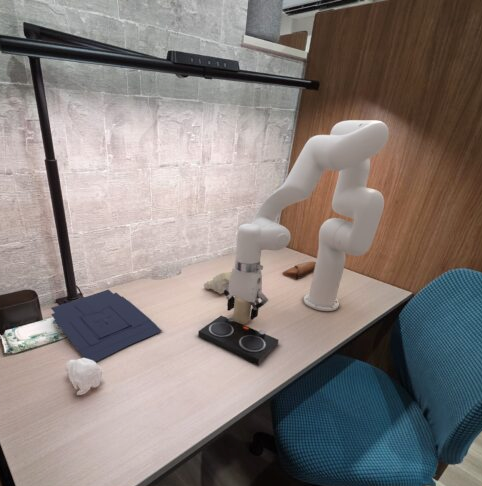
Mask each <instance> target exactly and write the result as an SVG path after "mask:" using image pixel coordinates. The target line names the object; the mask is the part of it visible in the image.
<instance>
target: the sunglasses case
mask: <svg viewBox="0 0 482 486" xmlns="http://www.w3.org/2000/svg"><path fill="white" fill-rule="evenodd" d="M315 264H316V261H307V262H303V263H298V264H295V265H294V266H293V267H290V268H288V269H287V270H284V271H283V272H282V275H284V276H286V277H288V278H290V279H291V280H295V281H296V280H298V279H300V278H302V277H303V276H305V275H307V274H309V273H312V272H314V269H315Z"/></svg>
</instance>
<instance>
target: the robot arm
mask: <svg viewBox="0 0 482 486" xmlns="http://www.w3.org/2000/svg"><path fill="white" fill-rule="evenodd" d="M389 136H390V131H389V127H388V125H387V124H386V123H385V122H383V121H381V120H374V119H373V120H370V119H367V120H365V119H364V120H362V119H361V120H359V119H352V120H351V119H350V120H342V121H339V122H337V123H335V125H334V126H332V128H331V130H330V134H317V135H314V136H311V137H310V138H309V139H308V140H307V141H306V143H305V144H304V145H303V147H302V150H301V151H300V153H299V155H298V157H297V158H296V160H295V162H294V164H293V166H292V168H291V170H290V172H289V173H288V175H287V177H286V179H285V181H283V184H282V185H281V186H280V187H278V188H277V189H276V190H274V191H273V192H272V193H271V194H269V196H267V197H266V198H265V200H264V201H263V202H262V203H261V204H260V206H259V208H258V209H257V210H256V213H255V214H254V217H253V219H252V221H251V223H250V222H249V223H243V224H240V225H239V227H238V228H237V237H236V246H235V259H234V265H233V266H232V269H231V271H230V272H231V276H230V281H229V282H227V283H224V284H222V288H223V290H224V293H223V294H224V295H225V297H226V298H225V299H226V300H227V303H226V306H227V311H228V312H230V311H232V310H234V304H235V297H238V298H241V299H243V300H245V301H248V302H250V303H251V312H250V320H251V321H253V320H254V319H256V318H257V317H258V315H259V310H260V308H262V307H263V306H264V305H266V304H267V303H268V302H269V298H268V297H267V296H266V295H265V294H264V292H262V290H263V274H262V273H263V272H262V270H263V269H264V265H262V264H261V256H262V251H264V250H265V251H280V250H284V249H285V248H286V247H287V246H288V245H289V244H290V242H291V239H292V235H291V232H290V230H289V229H288V228H287V227H286V226H284V225H283V224H280V223H278V222H275V220H276V218H277V217H278V216H279V214H280V213H281V212H282V211H283V210H284V209H285V208H287V207H289V206H291V205H294V204H297V203H300V202H303V201H306V200H308V199H309V198H310V197H311V196H312V194H313V192H314V190H315V189H316V187H317V185H318V183H319V182H320V180H321V179H322V176H323V175H324V174H325V172H326V170H327V171H332V172H338V177H337V181H336V184H335V187H334V192H333V196H332V200H331V210H333V212H334V213H336V214H338V215H339V216H340V215H341V216H343V217H346V218H350V219H352V220H353V222H352V221H350V220H348V219H343V218H339V217H332V218H328V219H327V220H325V221H323V223H322V224H321V226H320V228H319V231H318V250H317V255H316V259H315V260H316V261H315V262H316V264H315V269H314V271H313V275H312V278H311V284H310V288H309V293H307V294H305V295H304V296H303V302H304V304H305V305H306V306H307V307H309V308H311V309H314V310H317V311H320V312H321V311H322V312H333V311H335V310H337V309H338V308H339V306H340V303H339V301H338V299H337V297H338V292H339V288H340V284H341V281H342V277H343V273H344V269H345V266H346V261H347V256H346V254H347V255H349V256H352V257H361V256H363V255H365V254H366V253H368V251H369V249H370V248H371V246H372V244H373V242H374V240H375V236H376V234H377V230H378V228H379V224H380V222H381V218H382V215H383V213H384V209H385V208H384V207H385V197H384V196H383V193H381V191H379V190H377V189H373V188H371V187H367V185H368V184H367V182H368V179H369V176H370V171H371V158H372V157H373V158H374V157H375V156H376V155H378V154H379V153H380V152H381V151H382V150H383V149H384V148H385V147H386V145H387V144H388V140H389V138H390V137H389ZM228 286H229V289H228ZM259 299H260V300H261V301H259Z"/></svg>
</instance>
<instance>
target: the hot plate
mask: <svg viewBox="0 0 482 486" xmlns="http://www.w3.org/2000/svg"><path fill="white" fill-rule="evenodd" d="M197 336H198V337H199V338H200V339H202V340H204V341H206V342H208V343H210V344H212V345H214V346H216V347H218V348H221V349H223V350H225V351H227V352H228V353H231V354H233V355H234V356H238V357H239V358H241V359H243V360H246V361H247V362H249V363H251V364H253V365H255V366H260V364H262V362H264V360H266V358H267V357H268V356H269V355H270V354H271V353H272V352H273V351H274V350H275V349H276V348H277V347H278V346H279V338H276V337H274V336H271V335H269V334H267V333H266V331H265V330H263V329H260V330H257V329H255V328H252V327H249V326H247V325H246V324H240V323H238V322H235V319H234V318H233V317H225V316H223V315H220V316H218V317H217V318H215V319H214V320H212V321H211V322H209V323H208V324H206V325H204V327H202V328H200V329H199V330H198V335H197Z"/></svg>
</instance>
